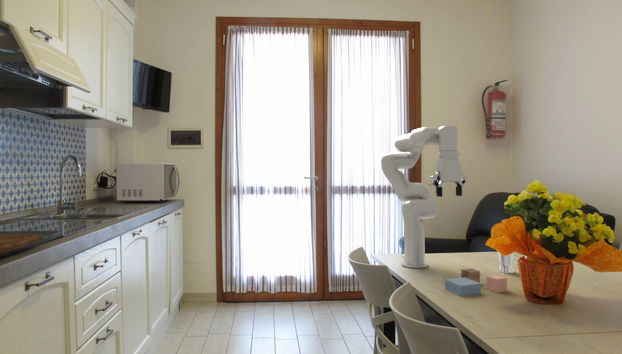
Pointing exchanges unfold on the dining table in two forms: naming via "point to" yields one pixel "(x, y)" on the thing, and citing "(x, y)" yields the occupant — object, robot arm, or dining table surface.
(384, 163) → the robot arm
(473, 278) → the walnut cube
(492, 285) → the pink cube
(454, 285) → the base block
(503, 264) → the beer glass
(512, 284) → the dining table surface
